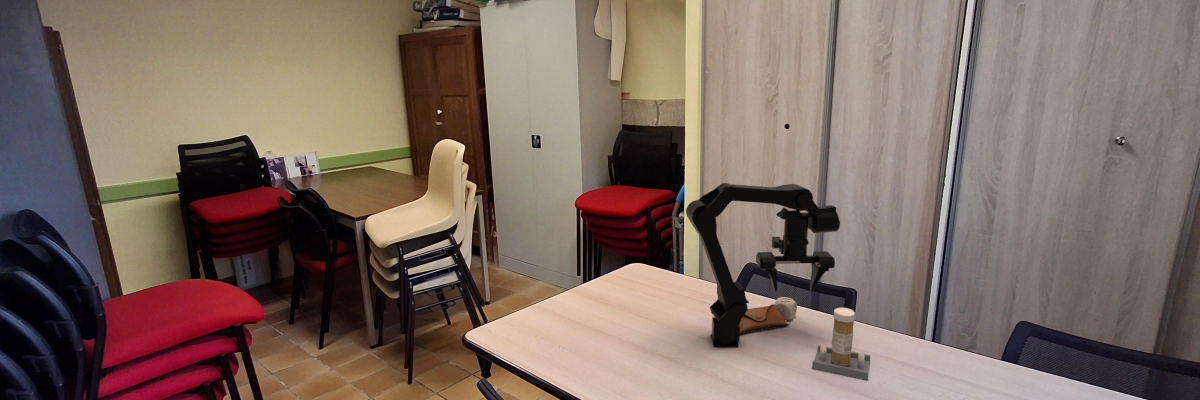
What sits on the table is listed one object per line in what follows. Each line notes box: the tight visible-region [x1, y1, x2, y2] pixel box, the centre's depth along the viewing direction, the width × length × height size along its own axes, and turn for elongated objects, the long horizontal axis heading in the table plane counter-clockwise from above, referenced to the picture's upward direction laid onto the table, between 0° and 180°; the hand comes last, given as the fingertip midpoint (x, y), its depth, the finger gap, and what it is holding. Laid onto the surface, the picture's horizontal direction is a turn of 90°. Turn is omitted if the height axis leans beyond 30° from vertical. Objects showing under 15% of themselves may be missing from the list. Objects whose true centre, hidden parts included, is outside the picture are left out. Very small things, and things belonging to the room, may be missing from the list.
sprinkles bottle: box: [831, 307, 856, 367], centre depth 134 cm, size 5×5×13 cm
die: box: [774, 296, 798, 321], centre depth 162 cm, size 5×5×5 cm
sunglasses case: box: [739, 303, 790, 335], centre depth 158 cm, size 18×7×7 cm, turn 109°
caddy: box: [811, 344, 871, 381], centre depth 135 cm, size 12×9×4 cm
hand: (793, 290), depth 148 cm, fingers open, 9 cm apart
